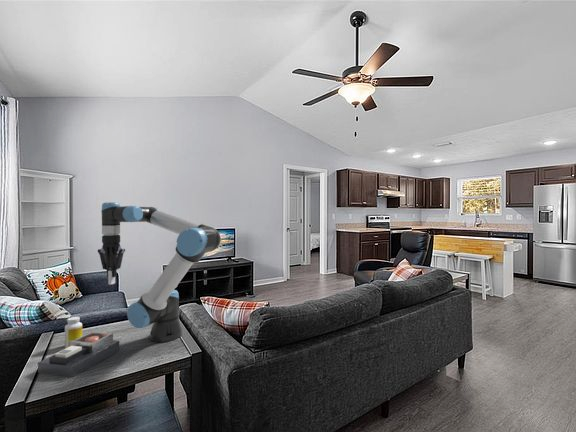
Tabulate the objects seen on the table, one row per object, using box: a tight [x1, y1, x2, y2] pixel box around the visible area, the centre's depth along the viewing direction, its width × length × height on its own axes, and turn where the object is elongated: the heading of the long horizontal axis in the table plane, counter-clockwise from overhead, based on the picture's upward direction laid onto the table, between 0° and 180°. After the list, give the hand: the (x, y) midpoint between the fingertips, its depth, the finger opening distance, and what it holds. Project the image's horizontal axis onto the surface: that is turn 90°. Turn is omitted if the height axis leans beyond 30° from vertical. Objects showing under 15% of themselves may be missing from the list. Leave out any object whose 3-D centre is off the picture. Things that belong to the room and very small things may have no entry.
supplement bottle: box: [64, 316, 83, 349], centre depth 135 cm, size 7×7×13 cm
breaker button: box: [85, 336, 99, 343], centre depth 127 cm, size 5×5×3 cm
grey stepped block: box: [37, 331, 120, 378], centre depth 122 cm, size 16×23×8 cm
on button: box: [54, 346, 82, 358], centre depth 116 cm, size 5×7×3 cm
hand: (111, 283), depth 139 cm, fingers closed
